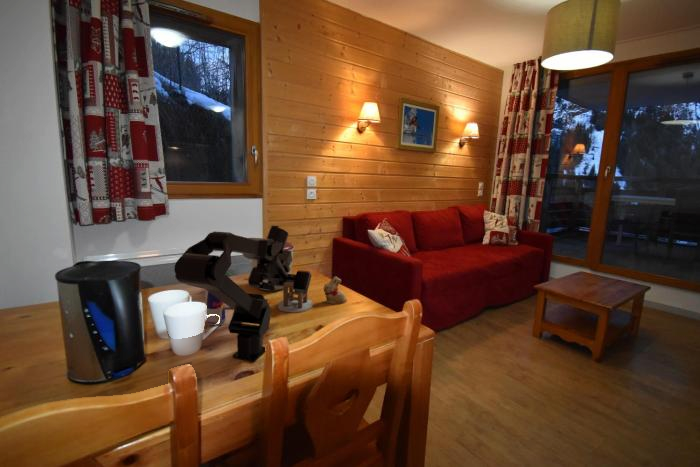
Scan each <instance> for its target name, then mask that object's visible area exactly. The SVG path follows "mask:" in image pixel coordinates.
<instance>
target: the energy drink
mask: <svg viewBox="0 0 700 467" xmlns="http://www.w3.org/2000/svg"><path fill="white" fill-rule="evenodd" d="M204 294H205V295H204V296H205V297H204V298H205V300H204V301H205V306H206V305H207V315H209V314H217V315H219V316H220V323H219V325H223V324H224V323H225V322H226V321H227V320H226V318H227V317H226V308H225V303H224V302H222V301H221V300H219V299H218V298H217V297H215V296H214V295H213V294H211V293H210V292H208V291H207V290H206V289H204ZM218 320H219V317H218V316H216V315H215V316H210V317H208V318H207V317H206V324H207V325H208V326H211V325H215V324H216V323H217V322H218ZM219 325H218V326H219Z"/></svg>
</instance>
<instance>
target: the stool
mask: <svg viewBox="0 0 700 467" xmlns="http://www.w3.org/2000/svg"><path fill="white" fill-rule="evenodd" d="M293 284H294V282H285V283H284V286H283V289H282V290H283V292H282V294H283V295H282V296H283V299H282V300H283V302H284V307H287V306H288V300H289V301H293V300H297V301H298V308H302V307H303V302H305V303H307V299H308V291H307V292H303V293H301V294H299V293H296V292H294V291H295V290H294V289H293ZM294 295H297V296H294Z"/></svg>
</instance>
